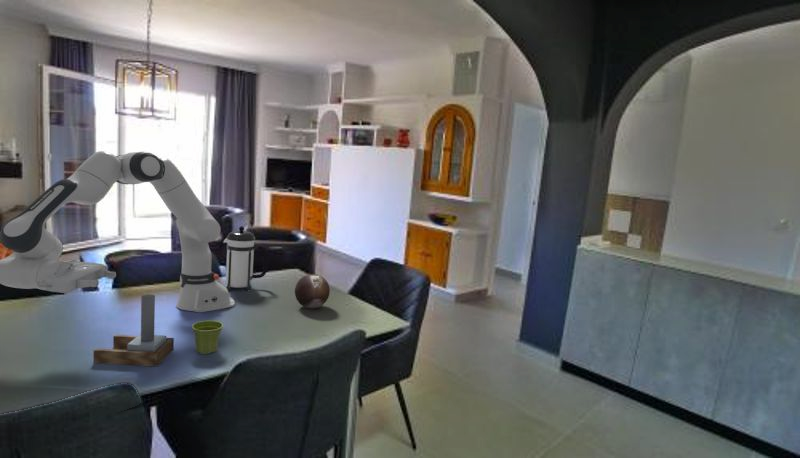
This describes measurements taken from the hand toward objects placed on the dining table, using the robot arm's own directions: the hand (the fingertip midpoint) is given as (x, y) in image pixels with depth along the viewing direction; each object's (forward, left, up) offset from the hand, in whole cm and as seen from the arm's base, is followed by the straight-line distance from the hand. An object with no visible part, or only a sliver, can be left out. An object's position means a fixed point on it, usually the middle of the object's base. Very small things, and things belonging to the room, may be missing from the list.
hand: (106, 279), depth 137 cm
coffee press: (-58, -58, -24) cm, 85 cm away
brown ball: (-77, -20, -24) cm, 83 cm away
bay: (-7, +4, -24) cm, 25 cm away
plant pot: (-27, +8, -24) cm, 37 cm away
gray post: (-10, +6, -23) cm, 26 cm away
